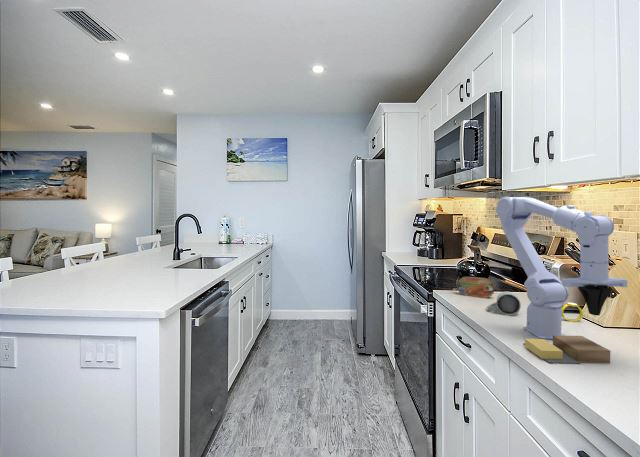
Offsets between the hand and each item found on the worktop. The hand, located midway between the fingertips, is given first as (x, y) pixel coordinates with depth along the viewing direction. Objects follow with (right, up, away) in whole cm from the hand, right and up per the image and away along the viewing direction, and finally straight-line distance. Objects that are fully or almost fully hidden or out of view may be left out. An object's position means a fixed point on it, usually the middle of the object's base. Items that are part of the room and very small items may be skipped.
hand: (594, 314), depth 89 cm
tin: (-4, -7, +60) cm, 61 cm away
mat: (-12, -10, 0) cm, 15 cm away
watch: (+13, -9, +26) cm, 30 cm away
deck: (-4, -10, -1) cm, 11 cm away
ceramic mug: (-4, -9, +36) cm, 37 cm away
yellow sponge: (-14, -9, 0) cm, 16 cm away
